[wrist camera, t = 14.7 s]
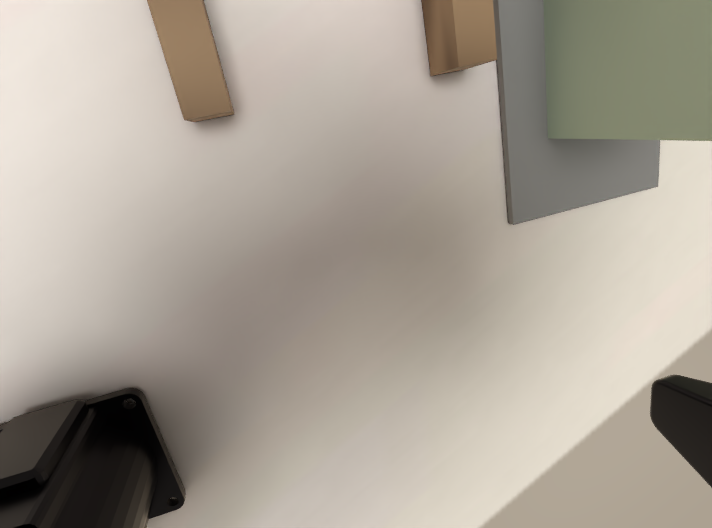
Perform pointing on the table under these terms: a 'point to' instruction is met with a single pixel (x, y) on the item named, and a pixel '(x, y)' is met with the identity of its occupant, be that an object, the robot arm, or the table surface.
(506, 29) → the floor mat
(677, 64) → the green block
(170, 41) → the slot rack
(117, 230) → the table surface
